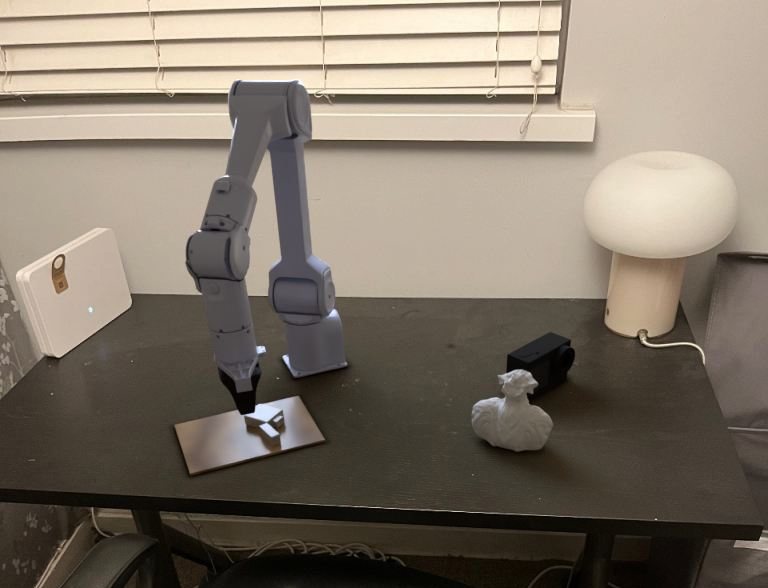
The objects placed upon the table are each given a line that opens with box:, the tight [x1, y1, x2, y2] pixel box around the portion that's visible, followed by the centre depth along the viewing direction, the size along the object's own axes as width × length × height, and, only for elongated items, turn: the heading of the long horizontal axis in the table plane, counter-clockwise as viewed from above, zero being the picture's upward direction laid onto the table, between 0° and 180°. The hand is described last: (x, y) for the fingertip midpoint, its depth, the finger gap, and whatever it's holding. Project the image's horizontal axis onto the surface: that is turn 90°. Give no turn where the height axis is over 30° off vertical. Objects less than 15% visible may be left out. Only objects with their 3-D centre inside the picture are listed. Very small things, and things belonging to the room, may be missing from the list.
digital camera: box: [505, 331, 576, 401], centre depth 120 cm, size 10×5×7 cm, turn 132°
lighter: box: [244, 403, 284, 447], centre depth 115 cm, size 7×2×8 cm
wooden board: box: [173, 395, 326, 477], centre depth 116 cm, size 20×14×1 cm
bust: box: [470, 369, 554, 453], centre depth 109 cm, size 12×8×11 cm, turn 62°
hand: (247, 411), depth 109 cm, fingers closed
